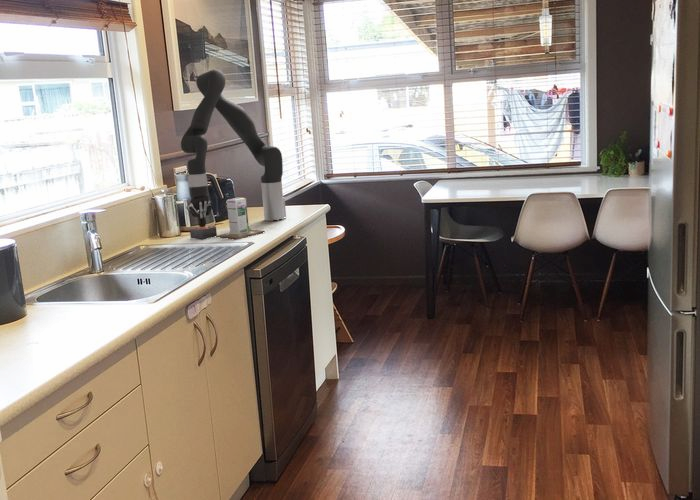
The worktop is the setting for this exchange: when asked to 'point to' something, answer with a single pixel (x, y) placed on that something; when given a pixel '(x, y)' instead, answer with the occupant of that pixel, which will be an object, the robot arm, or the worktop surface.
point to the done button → (202, 227)
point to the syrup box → (237, 216)
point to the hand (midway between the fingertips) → (202, 226)
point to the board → (235, 237)
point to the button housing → (203, 233)
